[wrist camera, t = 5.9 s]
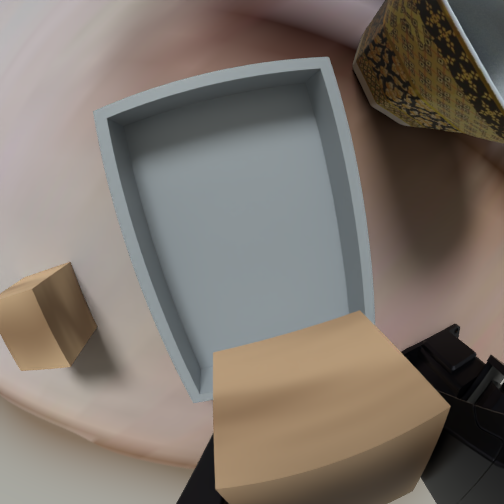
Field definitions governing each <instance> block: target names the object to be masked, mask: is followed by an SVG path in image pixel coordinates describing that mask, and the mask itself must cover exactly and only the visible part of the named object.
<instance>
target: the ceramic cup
mask: <svg viewBox="0 0 504 504" xmlns="http://www.w3.org/2000/svg"><path fill="white" fill-rule="evenodd" d="M353 70H354V72H355V74H356V76H357V78H358V80H359V82H360V84H361V86H362V88H363V90H364V92H365V94H366V97H367V99H368V101H369V103H370V105H371V106H372V107H373V108H375V109H377V110H378V111H380V112H382V113H383V114H385V115H386V116H388V117H390V118H391V119H393V120H394V121H396V122H397V123H399V124H402V125H404V126H412V127H422V128H430V129H437V130H444V131H450V132H459V133H465V134H468V135H472V136H475V137H479V138H483V139H487V140H491V141H496V142H500V143H504V0H385V1H384V3H383V4H382V6H381V7H380V9H379V11H378V12H377V14H376V15H375V17H374V18H373V20H372V21H371V23H370V24H369V25H368V27H367V28H366V30H365V32H364V33H363V35H362V37H361V40H360V43H359V46H358V49H357V52H356V55H355V58H354V61H353Z"/></svg>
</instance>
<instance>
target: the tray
mask: <svg viewBox="0 0 504 504" xmlns="http://www.w3.org/2000/svg"><path fill="white" fill-rule="evenodd" d="M93 113H94V119H95V125H96V131H97V136H98V141H99V146H100V151H101V155H102V160H103V164H104V169H105V173H106V177H107V181H108V185H109V189H110V193H111V196H112V200H113V204H114V207H115V211H116V214H117V218H118V221H119V225H120V228H121V231H122V234H123V237H124V241H125V244H126V247H127V250H128V253H129V256H130V259H131V262H132V264H133V267H134V270H135V273H136V276H137V278H138V281H139V284H140V286H141V289H142V292H143V294H144V297H145V299H146V302H147V305H148V307H149V309H150V312H151V314H152V317H153V319H154V322H155V324H156V326H157V329H158V331H159V333H160V335H161V338H162V340H163V342H164V344H165V347H166V349H167V351H168V353H169V355H170V357H171V360H172V362H173V364H174V366H175V368H176V370H177V372H178V374H179V376H180V378H181V380H182V382H183V384H184V386H185V388H186V390H187V392H188V394H189V396H190V397H191V399H192V401H193V403H197V402H203V401H208V400H213V352H217V351H221V350H226V349H230V348H234V347H238V346H242V345H246V344H250V343H254V342H258V341H262V340H265V339H269V338H273V337H276V336H280V335H284V334H287V333H291V332H294V331H297V330H301V329H304V328H307V327H311V326H314V325H317V324H320V323H323V322H326V321H329V320H333V319H336V318H339V317H342V316H345V315H347V314H350V313H353V312H356V311H359V310H360V311H361V312H362V313H363V314H364V315H365V316H366V317H367V318H368V319H369V320H370V321H371V322H372V323H373V324H374V325H375V310H374V291H373V277H372V265H371V255H370V245H369V236H368V228H367V221H366V214H365V207H364V201H363V194H362V188H361V183H360V177H359V172H358V167H357V162H356V157H355V152H354V147H353V143H352V138H351V134H350V130H349V126H348V122H347V118H346V114H345V110H344V106H343V102H342V99H341V95H340V92H339V88H338V85H337V81H336V78H335V75H334V72H333V68H332V65H331V62H330V59H329V57H317V58H302V59H290V60H281V61H273V62H265V63H258V64H252V65H246V66H240V67H234V68H229V69H224V70H219V71H215V72H210V73H206V74H202V75H198V76H194V77H190V78H186V79H182V80H179V81H175V82H172V83H169V84H165V85H162V86H159V87H156V88H153V89H150V90H147V91H144V92H141V93H138V94H135V95H132V96H130V97H127V98H124V99H122V100H119V101H117V102H114V103H112V104H109V105H107V106H104V107H102V108H100V109H97V110H95V111H93Z"/></svg>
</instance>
